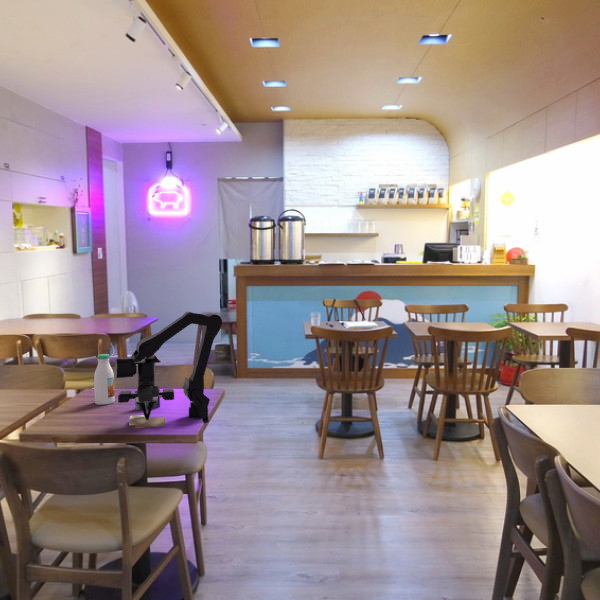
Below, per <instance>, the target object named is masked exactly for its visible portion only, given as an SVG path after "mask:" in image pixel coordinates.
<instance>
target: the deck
mask: <svg viewBox="0 0 600 600" xmlns="http://www.w3.org/2000/svg"><path fill="white" fill-rule="evenodd" d="M165 426H166V416H155V417H154V416H152V417H149V420H146V418H145V424H144V425H134V429H143V428H158V427H161V428H162V427H165Z"/></svg>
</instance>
